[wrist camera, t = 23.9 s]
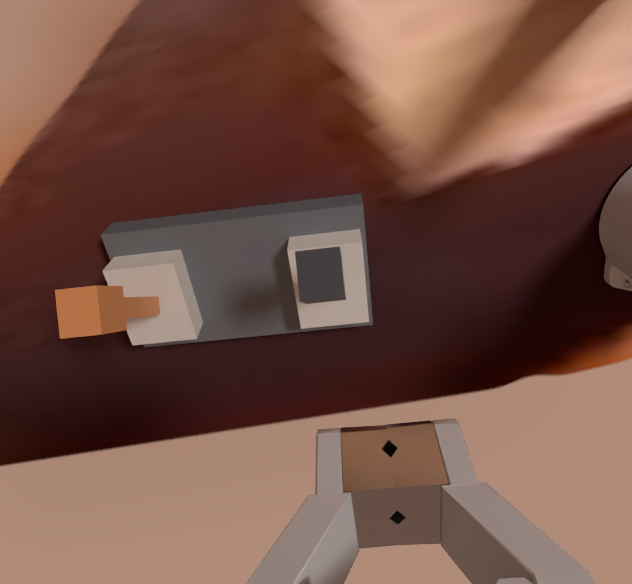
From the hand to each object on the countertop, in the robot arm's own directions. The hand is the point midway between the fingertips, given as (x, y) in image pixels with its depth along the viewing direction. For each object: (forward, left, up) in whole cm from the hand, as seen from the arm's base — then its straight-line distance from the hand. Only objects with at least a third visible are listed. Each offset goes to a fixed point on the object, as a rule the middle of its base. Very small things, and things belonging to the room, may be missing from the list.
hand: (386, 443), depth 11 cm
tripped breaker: (+10, +24, -33) cm, 42 cm away
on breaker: (-5, +14, -32) cm, 36 cm away
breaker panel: (+2, +19, -39) cm, 44 cm away
